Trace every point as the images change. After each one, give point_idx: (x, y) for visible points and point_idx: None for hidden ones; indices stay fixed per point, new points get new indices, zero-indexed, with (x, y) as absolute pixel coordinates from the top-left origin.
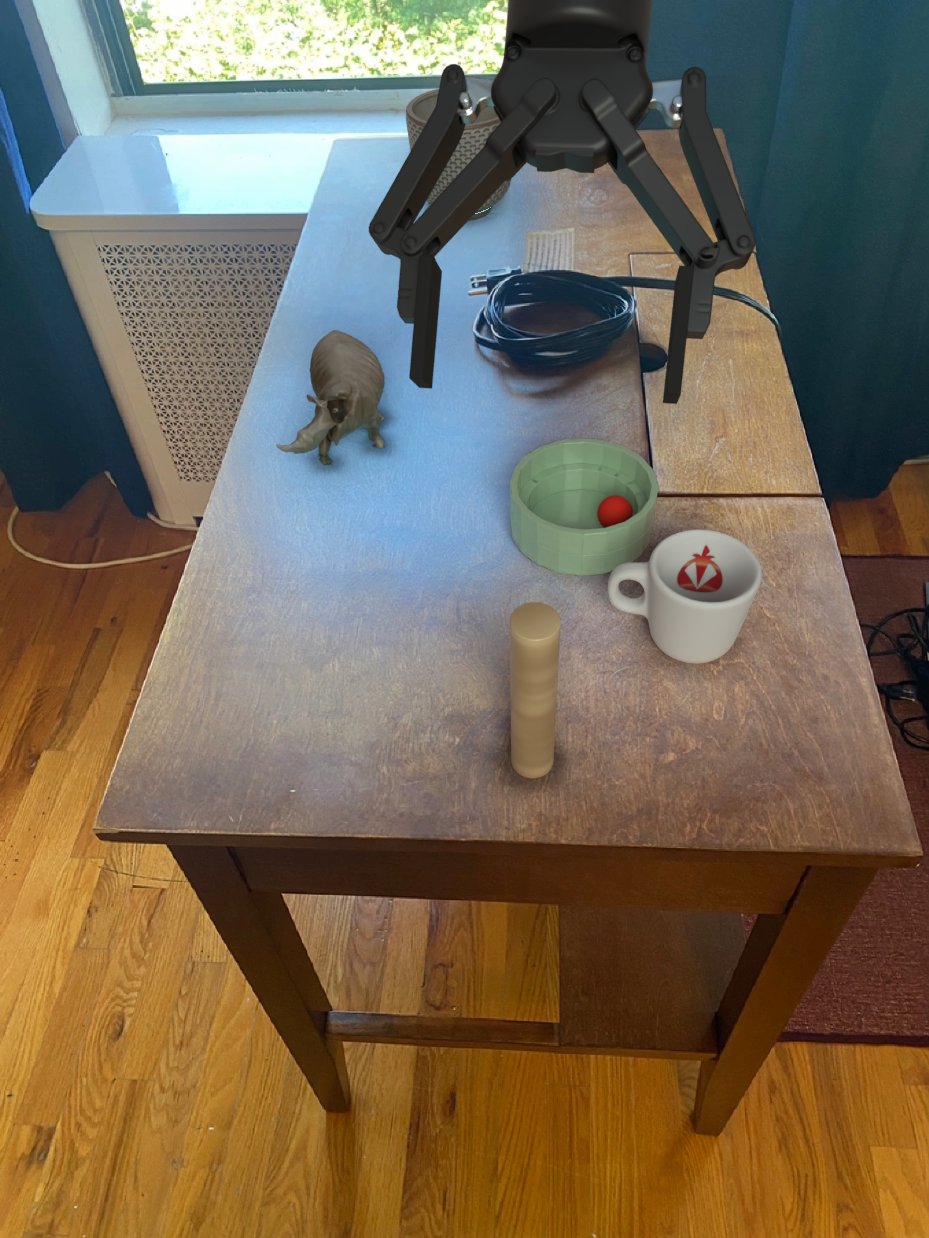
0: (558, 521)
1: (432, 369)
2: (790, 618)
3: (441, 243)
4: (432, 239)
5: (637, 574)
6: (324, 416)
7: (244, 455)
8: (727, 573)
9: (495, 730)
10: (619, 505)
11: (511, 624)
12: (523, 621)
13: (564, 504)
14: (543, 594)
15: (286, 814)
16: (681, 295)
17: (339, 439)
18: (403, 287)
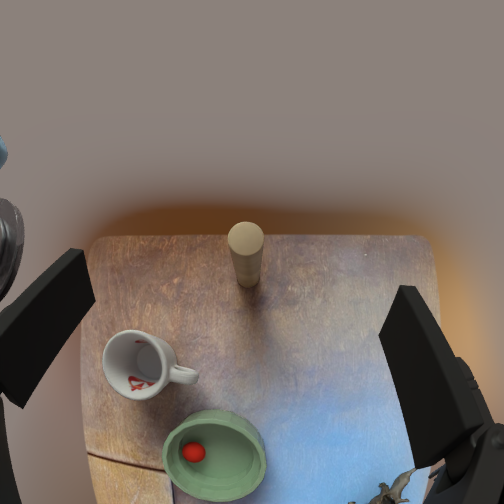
0: (232, 453)
1: (386, 347)
2: None
3: (435, 496)
4: (468, 468)
5: (176, 371)
6: (395, 494)
7: (425, 475)
8: (124, 376)
9: (268, 295)
10: (189, 452)
11: (262, 234)
12: (254, 237)
13: (228, 467)
14: (242, 398)
15: (364, 242)
16: (4, 322)
17: (382, 488)
18: (474, 390)
